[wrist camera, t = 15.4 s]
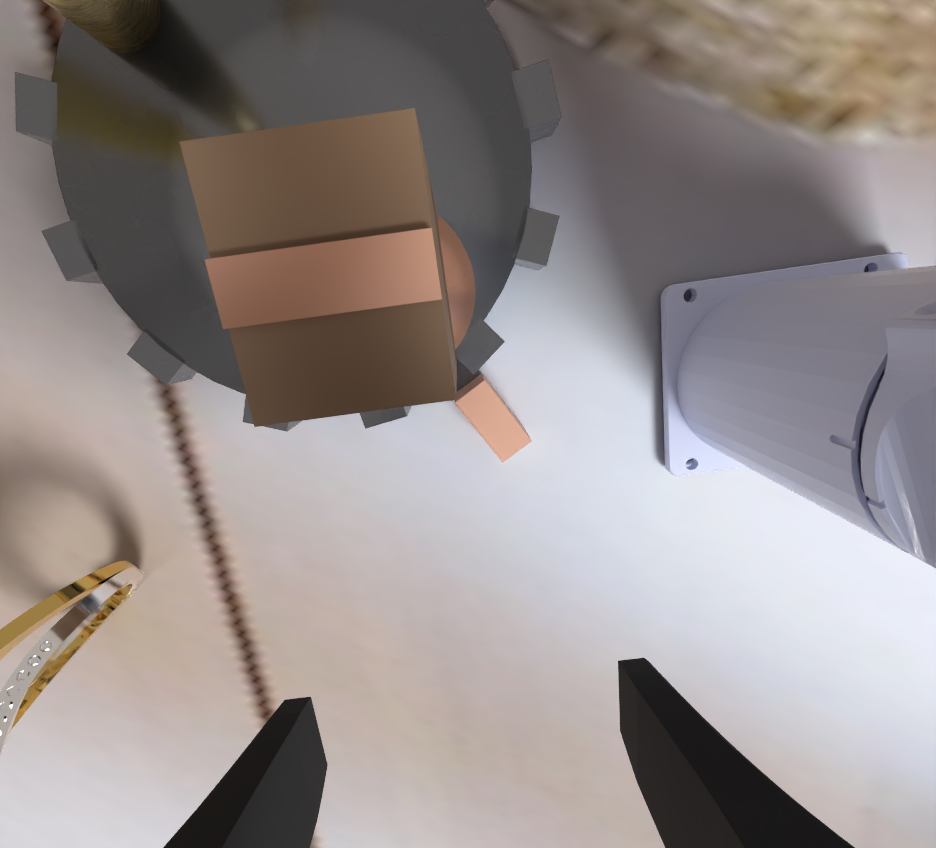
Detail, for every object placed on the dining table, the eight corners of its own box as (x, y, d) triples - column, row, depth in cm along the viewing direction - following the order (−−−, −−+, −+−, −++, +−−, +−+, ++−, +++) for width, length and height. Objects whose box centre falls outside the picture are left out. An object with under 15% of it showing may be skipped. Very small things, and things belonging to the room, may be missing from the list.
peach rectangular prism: (455, 393, 18) (454, 402, 16) (481, 372, 18) (484, 380, 16) (497, 447, 19) (502, 462, 17) (524, 427, 19) (531, 441, 17)
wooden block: (435, 205, 14) (413, 102, 7) (457, 360, 15) (456, 401, 8) (312, 223, 14) (171, 137, 7) (344, 376, 15) (250, 429, 8)
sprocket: (261, -280, 12) (136, -657, 8) (651, 178, 16) (738, 118, 11) (-36, 197, 15) (-265, 144, 10) (346, 503, 18) (306, 571, 14)
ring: (113, 652, 21) (-86, 850, 13) (53, 613, 21) (-190, 796, 13) (199, 559, 20) (37, 716, 12) (139, 515, 19) (-71, 650, 12)
